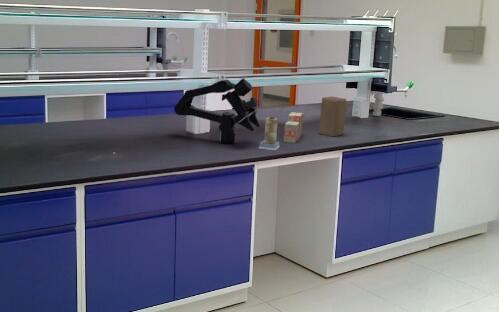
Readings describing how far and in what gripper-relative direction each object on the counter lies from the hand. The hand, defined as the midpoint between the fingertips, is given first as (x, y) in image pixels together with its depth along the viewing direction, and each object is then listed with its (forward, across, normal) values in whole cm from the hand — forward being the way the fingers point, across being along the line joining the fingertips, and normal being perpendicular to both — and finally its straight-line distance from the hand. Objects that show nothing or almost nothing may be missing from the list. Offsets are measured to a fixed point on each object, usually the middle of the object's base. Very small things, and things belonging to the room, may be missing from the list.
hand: (256, 128), depth 267 cm
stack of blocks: (+15, +27, -2) cm, 31 cm away
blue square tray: (+11, -1, 0) cm, 11 cm away
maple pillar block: (+10, 0, 0) cm, 10 cm away
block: (+27, +49, -14) cm, 58 cm away
